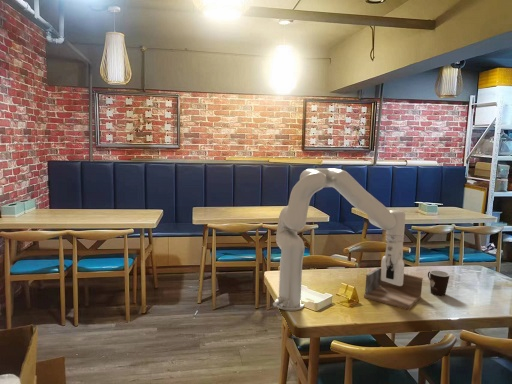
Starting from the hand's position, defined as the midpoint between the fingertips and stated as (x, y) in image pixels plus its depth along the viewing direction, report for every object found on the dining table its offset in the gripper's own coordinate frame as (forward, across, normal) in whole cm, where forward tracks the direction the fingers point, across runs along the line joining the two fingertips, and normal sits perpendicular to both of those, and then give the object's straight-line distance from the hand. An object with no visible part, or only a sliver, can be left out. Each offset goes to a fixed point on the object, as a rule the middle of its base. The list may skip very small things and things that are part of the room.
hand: (392, 276), depth 181 cm
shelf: (+11, +3, 0) cm, 11 cm away
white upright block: (+3, 0, 0) cm, 3 cm away
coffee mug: (+11, +24, -14) cm, 30 cm away
